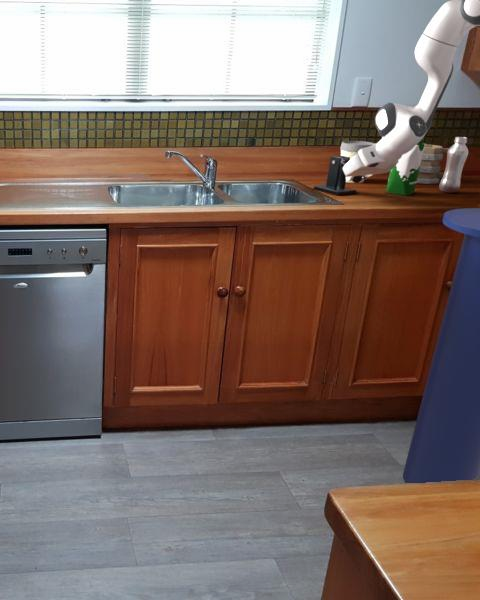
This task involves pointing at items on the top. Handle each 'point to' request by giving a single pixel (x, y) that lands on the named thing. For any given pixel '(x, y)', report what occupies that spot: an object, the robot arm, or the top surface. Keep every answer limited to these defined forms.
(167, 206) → the top surface
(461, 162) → the silver water bottle
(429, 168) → the tankard
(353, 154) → the reusable coffee cup
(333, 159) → the black lever switch stand
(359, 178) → the tap lever
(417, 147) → the milk carton
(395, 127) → the robot arm
